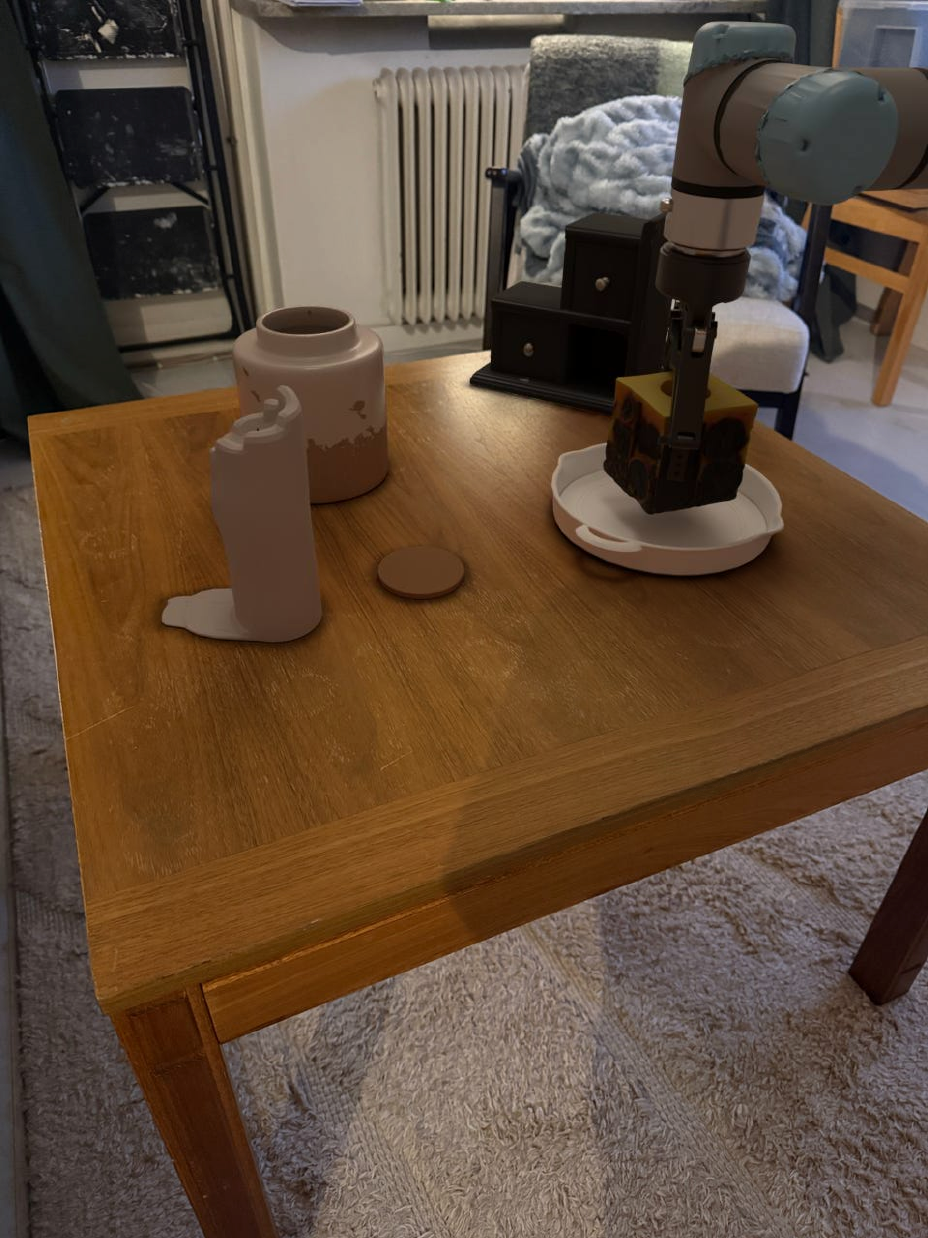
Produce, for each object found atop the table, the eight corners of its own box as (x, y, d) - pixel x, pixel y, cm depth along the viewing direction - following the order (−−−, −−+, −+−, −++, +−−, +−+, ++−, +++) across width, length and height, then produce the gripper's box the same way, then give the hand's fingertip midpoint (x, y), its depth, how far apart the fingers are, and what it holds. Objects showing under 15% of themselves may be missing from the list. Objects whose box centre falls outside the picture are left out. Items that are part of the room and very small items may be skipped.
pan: (819, 506, 91) (829, 473, 89) (714, 629, 74) (723, 591, 72) (616, 443, 103) (620, 411, 101) (483, 536, 85) (485, 500, 83)
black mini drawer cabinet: (467, 385, 116) (472, 194, 102) (504, 360, 124) (513, 180, 110) (630, 424, 107) (660, 221, 93) (659, 395, 115) (691, 203, 101)
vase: (224, 465, 96) (199, 314, 86) (339, 430, 104) (329, 287, 94) (295, 520, 87) (277, 358, 77) (416, 476, 95) (413, 324, 85)
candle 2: (175, 586, 77) (128, 370, 65) (329, 595, 77) (309, 378, 65) (147, 636, 72) (89, 408, 60) (312, 645, 71) (288, 417, 59)
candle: (647, 518, 81) (664, 418, 75) (599, 470, 89) (610, 376, 83) (739, 502, 84) (763, 404, 78) (685, 457, 91) (702, 365, 85)
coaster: (470, 555, 83) (470, 550, 82) (456, 603, 76) (456, 598, 76) (388, 547, 83) (388, 541, 83) (368, 594, 77) (368, 588, 77)
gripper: (657, 210, 83) (627, 418, 95) (666, 284, 63) (627, 533, 76) (737, 214, 82) (696, 423, 95) (771, 291, 62) (713, 542, 75)
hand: (665, 473), depth 85 cm, fingers closed on candle, 13 cm apart
